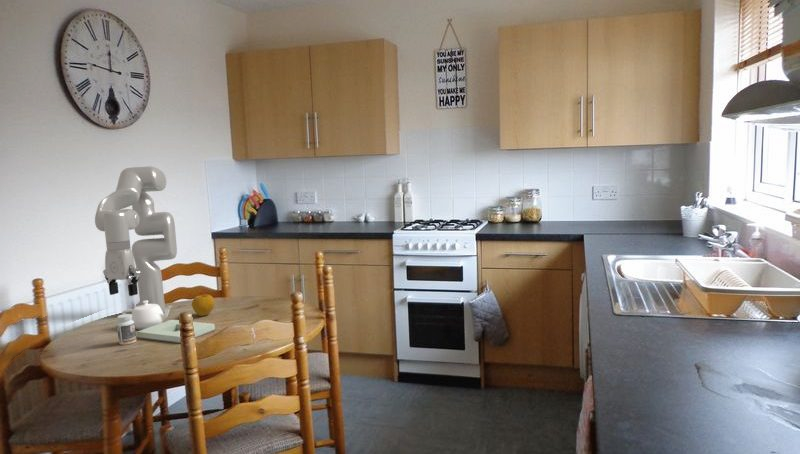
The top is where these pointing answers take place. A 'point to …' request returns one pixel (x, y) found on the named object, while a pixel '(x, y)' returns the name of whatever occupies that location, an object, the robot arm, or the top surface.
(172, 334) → the pocket board
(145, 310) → the teapot
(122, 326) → the pill bottle
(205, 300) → the apple
